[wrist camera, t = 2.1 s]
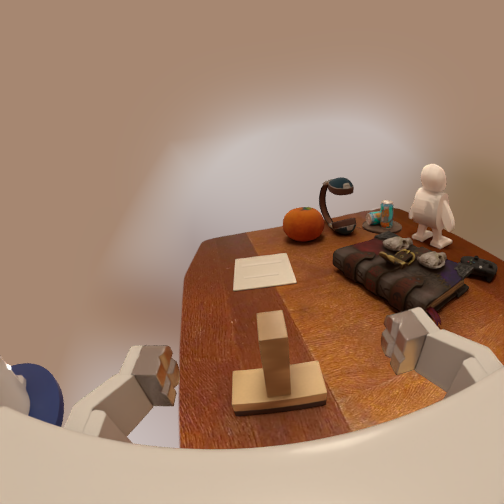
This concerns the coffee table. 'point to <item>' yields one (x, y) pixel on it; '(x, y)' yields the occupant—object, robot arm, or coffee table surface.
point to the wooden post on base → (276, 375)
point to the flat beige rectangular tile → (263, 272)
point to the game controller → (480, 267)
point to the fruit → (303, 224)
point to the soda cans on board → (382, 220)
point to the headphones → (339, 188)
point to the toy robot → (432, 207)
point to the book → (403, 272)
